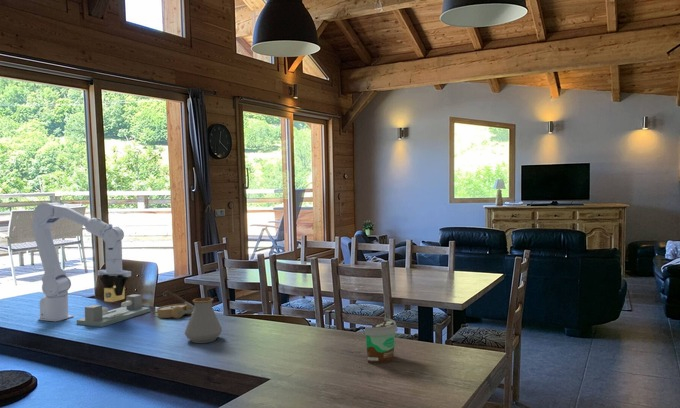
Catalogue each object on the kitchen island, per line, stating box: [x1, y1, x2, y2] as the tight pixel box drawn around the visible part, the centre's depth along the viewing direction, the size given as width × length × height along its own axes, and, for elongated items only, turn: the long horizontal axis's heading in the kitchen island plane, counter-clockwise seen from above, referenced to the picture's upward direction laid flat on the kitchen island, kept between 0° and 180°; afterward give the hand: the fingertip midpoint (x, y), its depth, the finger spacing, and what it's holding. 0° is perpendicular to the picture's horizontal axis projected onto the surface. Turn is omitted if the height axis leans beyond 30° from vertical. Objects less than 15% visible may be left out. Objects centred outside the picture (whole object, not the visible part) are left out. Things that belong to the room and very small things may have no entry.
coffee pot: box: [162, 289, 223, 344], centre depth 161 cm, size 21×12×15 cm, turn 67°
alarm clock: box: [154, 303, 194, 320], centre depth 192 cm, size 11×5×15 cm
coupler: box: [103, 285, 126, 303], centre depth 189 cm, size 4×7×5 cm, turn 160°
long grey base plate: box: [76, 294, 151, 328], centre depth 190 cm, size 12×24×6 cm, turn 160°
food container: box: [364, 317, 398, 364], centre depth 138 cm, size 12×6×10 cm, turn 148°
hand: (114, 294), depth 189 cm, fingers closed on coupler, 4 cm apart
